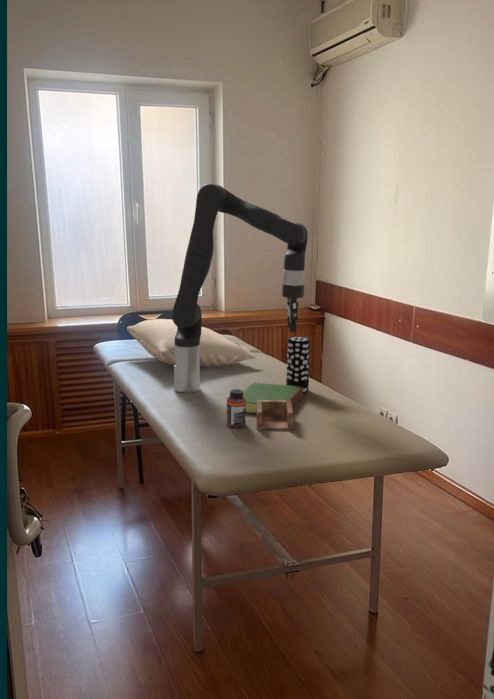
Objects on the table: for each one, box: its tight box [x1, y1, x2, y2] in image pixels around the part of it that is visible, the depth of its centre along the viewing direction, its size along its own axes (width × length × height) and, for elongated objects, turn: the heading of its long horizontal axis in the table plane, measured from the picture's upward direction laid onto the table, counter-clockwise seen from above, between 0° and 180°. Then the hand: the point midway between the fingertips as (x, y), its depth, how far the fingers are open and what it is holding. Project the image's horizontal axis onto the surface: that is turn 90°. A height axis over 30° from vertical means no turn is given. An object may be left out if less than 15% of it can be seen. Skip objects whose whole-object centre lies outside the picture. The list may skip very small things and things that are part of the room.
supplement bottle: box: [226, 388, 247, 429], centre depth 192 cm, size 6×6×11 cm
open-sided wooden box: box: [256, 400, 294, 431], centre depth 194 cm, size 11×12×6 cm
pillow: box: [126, 318, 257, 368], centre depth 265 cm, size 44×18×44 cm
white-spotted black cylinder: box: [285, 336, 311, 395], centre depth 227 cm, size 8×8×20 cm
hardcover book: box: [242, 382, 304, 415], centre depth 214 cm, size 25×19×4 cm
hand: (291, 329), depth 213 cm, fingers open, 8 cm apart
